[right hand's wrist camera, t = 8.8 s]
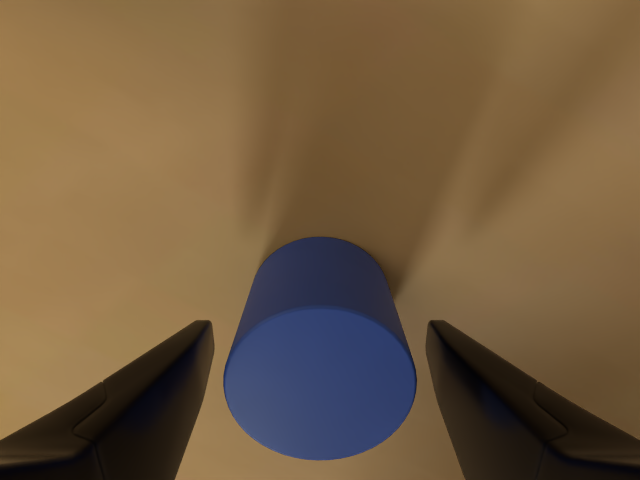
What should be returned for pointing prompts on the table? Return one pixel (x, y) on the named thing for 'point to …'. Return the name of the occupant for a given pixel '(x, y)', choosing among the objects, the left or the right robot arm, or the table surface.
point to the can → (320, 354)
